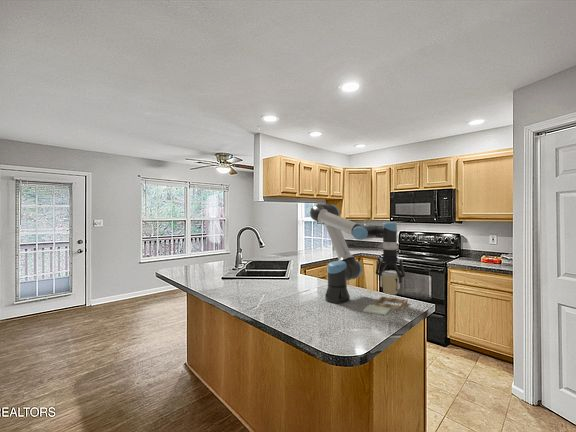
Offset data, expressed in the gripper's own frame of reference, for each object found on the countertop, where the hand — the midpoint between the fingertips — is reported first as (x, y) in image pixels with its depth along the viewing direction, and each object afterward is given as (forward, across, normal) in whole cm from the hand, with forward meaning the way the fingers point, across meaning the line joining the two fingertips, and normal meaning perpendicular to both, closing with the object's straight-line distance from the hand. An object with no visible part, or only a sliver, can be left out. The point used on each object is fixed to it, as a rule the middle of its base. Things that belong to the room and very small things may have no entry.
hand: (390, 287), depth 168 cm
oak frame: (+10, +1, 0) cm, 10 cm away
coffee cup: (+3, 0, 0) cm, 3 cm away
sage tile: (+10, -3, -14) cm, 18 cm away
